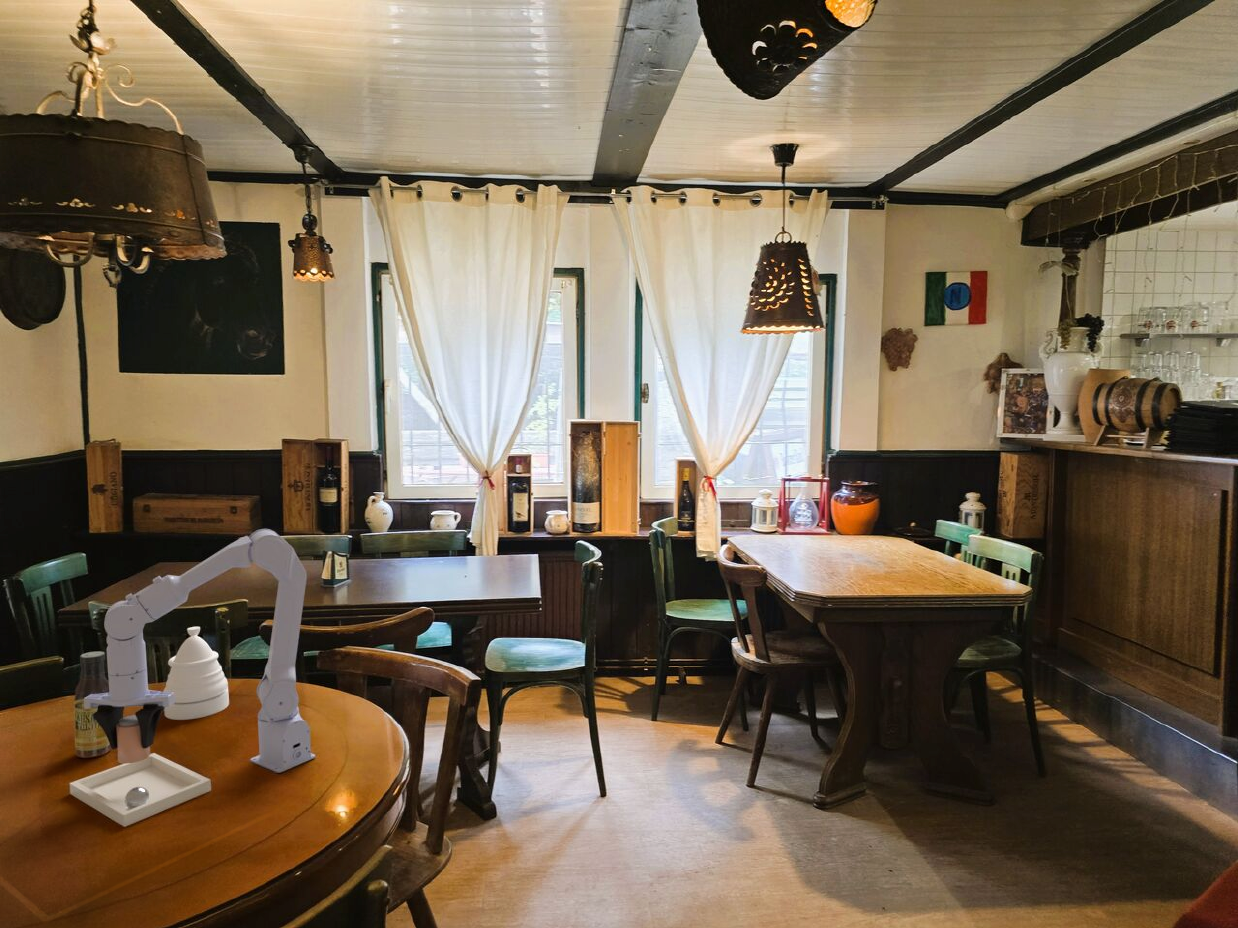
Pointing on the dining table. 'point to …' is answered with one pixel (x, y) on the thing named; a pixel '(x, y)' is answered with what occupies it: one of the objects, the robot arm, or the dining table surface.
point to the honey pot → (196, 680)
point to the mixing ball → (136, 797)
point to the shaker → (130, 741)
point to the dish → (152, 773)
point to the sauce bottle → (87, 728)
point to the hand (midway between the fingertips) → (132, 746)
